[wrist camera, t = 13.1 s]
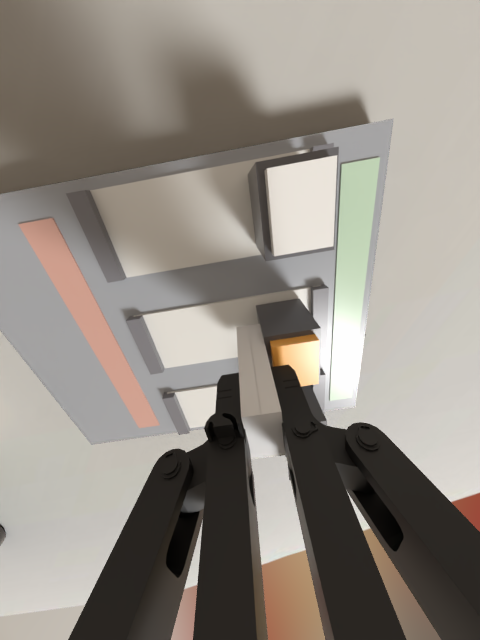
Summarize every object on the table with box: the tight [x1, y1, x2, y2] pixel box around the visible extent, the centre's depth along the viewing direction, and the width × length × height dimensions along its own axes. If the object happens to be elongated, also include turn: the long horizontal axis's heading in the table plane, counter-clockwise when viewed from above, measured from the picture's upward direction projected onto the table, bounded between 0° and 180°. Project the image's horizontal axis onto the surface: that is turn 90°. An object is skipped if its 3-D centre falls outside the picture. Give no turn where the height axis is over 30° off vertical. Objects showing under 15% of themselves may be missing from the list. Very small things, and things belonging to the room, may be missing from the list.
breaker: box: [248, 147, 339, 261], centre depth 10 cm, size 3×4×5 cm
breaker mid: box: [256, 299, 321, 386], centre depth 14 cm, size 3×4×5 cm
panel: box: [0, 119, 393, 445], centre depth 17 cm, size 26×21×2 cm
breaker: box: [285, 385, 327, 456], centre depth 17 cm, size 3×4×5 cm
